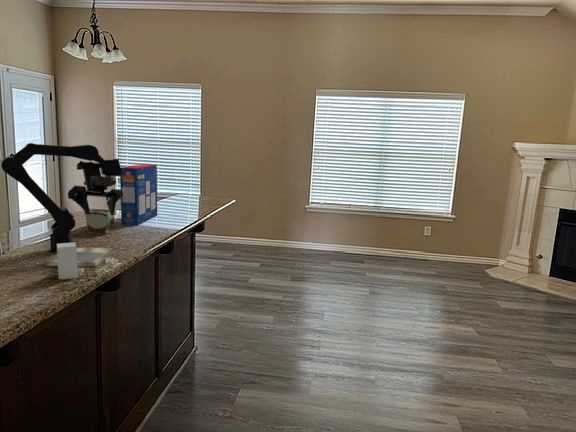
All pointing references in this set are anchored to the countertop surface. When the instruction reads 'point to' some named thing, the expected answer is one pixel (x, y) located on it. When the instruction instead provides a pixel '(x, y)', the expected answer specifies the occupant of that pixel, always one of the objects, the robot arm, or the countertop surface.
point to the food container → (98, 221)
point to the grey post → (67, 260)
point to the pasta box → (138, 193)
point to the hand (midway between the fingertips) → (101, 214)
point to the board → (85, 256)
